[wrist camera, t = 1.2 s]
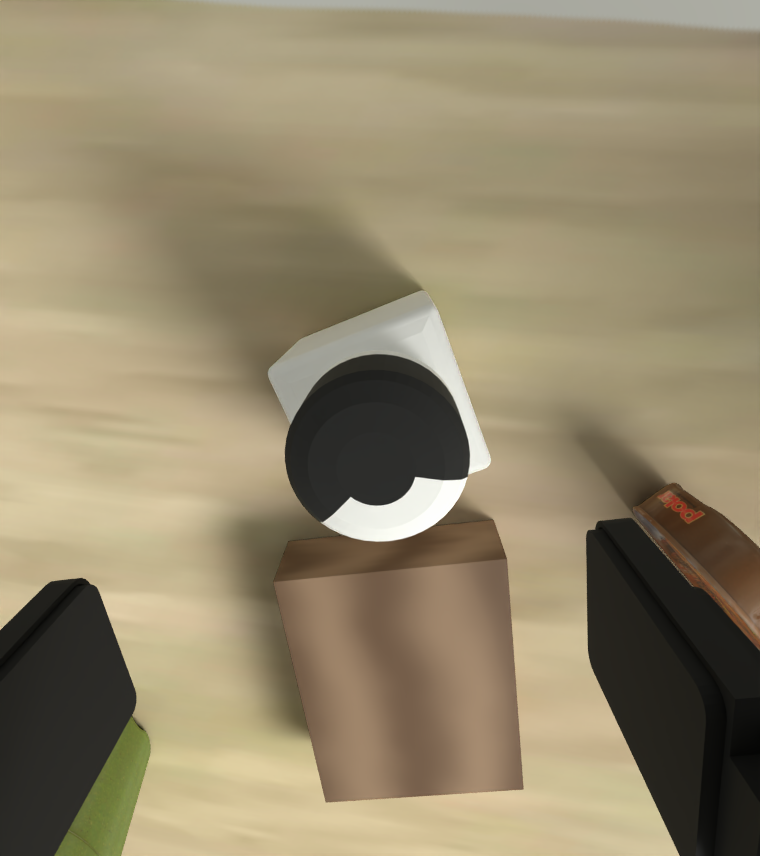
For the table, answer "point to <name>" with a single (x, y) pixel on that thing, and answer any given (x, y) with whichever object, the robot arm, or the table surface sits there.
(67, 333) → the table surface
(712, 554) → the tin
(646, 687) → the robot arm
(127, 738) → the plant pot
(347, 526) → the medicine bottle
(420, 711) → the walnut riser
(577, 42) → the table surface
